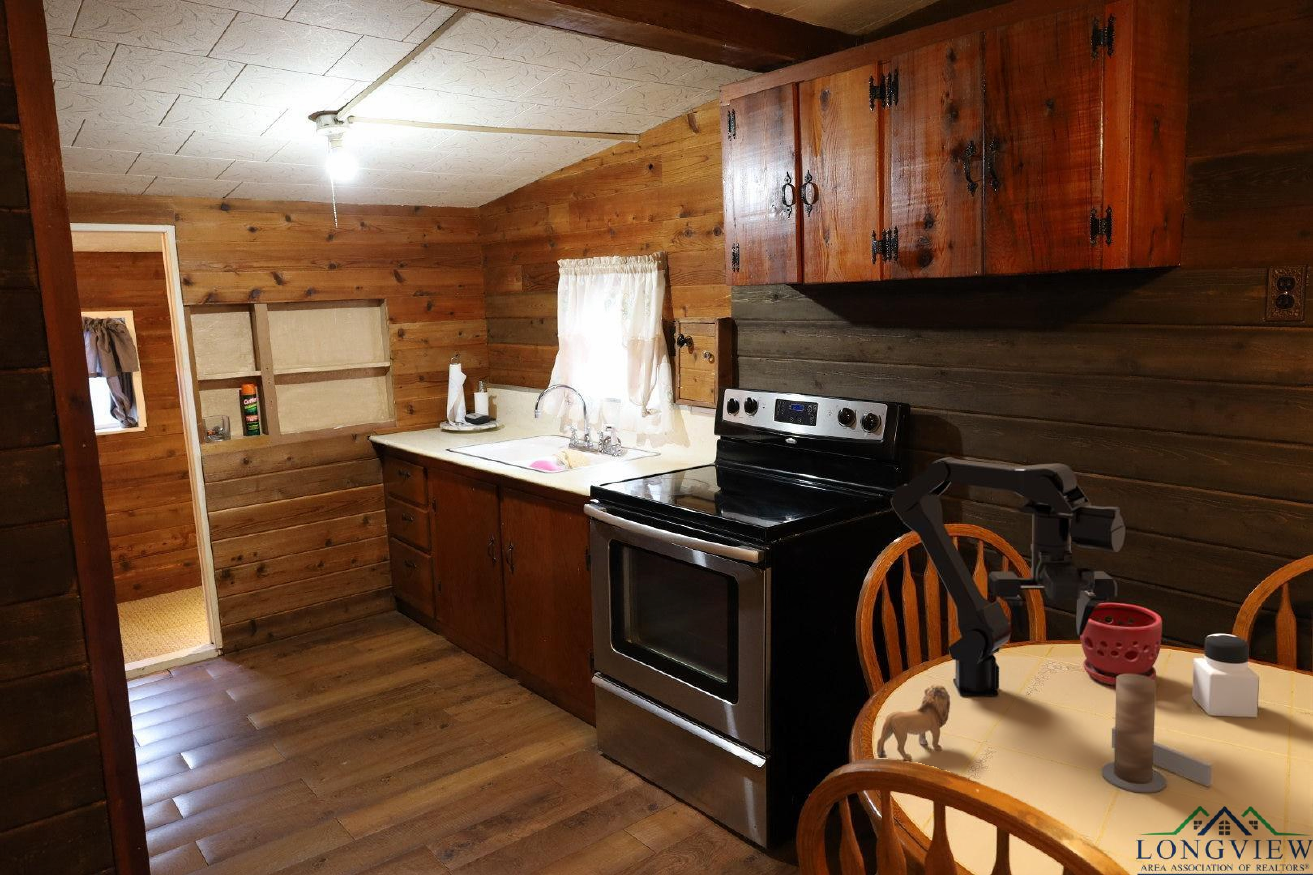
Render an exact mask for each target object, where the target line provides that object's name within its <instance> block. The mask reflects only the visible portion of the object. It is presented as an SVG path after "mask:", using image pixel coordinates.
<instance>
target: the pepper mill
mask: <svg viewBox="0 0 1313 875" xmlns="http://www.w3.org/2000/svg"><path fill="white" fill-rule="evenodd" d="M1156 685H1157V684H1156V680H1154V679H1151V678H1149V677H1146V676H1143V675H1138V674H1121V675H1118V676H1117V677H1116V685H1115V715H1114V716H1115V718H1114V720H1115V721H1114V722H1115V724H1114V727H1115V748H1114V756H1113V758H1114V759H1113V760H1114V761H1113V762H1114V774H1115V775H1116V776H1117V777H1118V778H1120V779H1122V780H1124V781H1126V782H1130V783H1135V784H1147V783H1150V782H1151V781H1152V780H1153V769H1154V764H1153V752H1154V742H1155V717H1156V716H1155V714H1156V713H1155V712H1156V711H1155V710H1156V688H1157V687H1156Z"/></svg>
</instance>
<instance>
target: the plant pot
mask: <svg viewBox="0 0 1313 875" xmlns="http://www.w3.org/2000/svg"><path fill="white" fill-rule="evenodd" d="M1107 617H1110V618H1112V620H1111V622H1107V621H1106V618H1107ZM1129 619H1132V621H1133V622H1129ZM1096 620H1098V621H1099V622H1098V621H1096ZM1119 622H1122V625H1119ZM1162 634H1163V620H1162V617H1161V616H1160V615H1159V614H1158V613H1156V612H1154V611H1153V610H1151V609H1148V608H1146V607H1142V606H1140V605H1139V606H1138V605H1134V604H1128V603H1117V602H1101V603H1100V604H1098V605H1097V606H1096V607H1095V609H1094V610H1093V612H1092V614H1091V616H1090V618H1089V620H1088V622H1087V625H1086V627H1085V629H1084V632H1083V634H1082V635H1081V636H1079V637H1080V638H1079V639H1080V643H1081V647H1082V651H1083V654H1084V657H1085V658H1084V660H1083V663H1082V664H1083V665H1082V666H1083V668H1084V670H1085V672H1086V673H1087V674H1088V675H1089V676H1090V677H1092V678H1093V679H1094V680H1097V681H1099V682H1101V683H1104V684H1108V685H1111V686H1116V677H1117V676H1118V675H1121V674H1138V675H1143V676H1146V677H1149V678H1151V679H1153V680H1154V679H1155V678H1156V677H1157V676H1156V675H1157V670H1156V668H1155V667H1154V665H1155V663H1156V661H1157V660H1158V657H1159V654H1160V652H1161V646H1162V645H1161V643H1162V642H1161V640H1162Z"/></svg>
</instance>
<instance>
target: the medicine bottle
mask: <svg viewBox="0 0 1313 875" xmlns="http://www.w3.org/2000/svg"><path fill="white" fill-rule="evenodd" d="M1249 651H1250V645H1249V643H1248V641H1247V640H1246V639H1244V638H1241V637H1240V636H1236V635H1233V634H1227V633H1213V634H1210V635H1207V636H1206V637H1205V638H1204V651H1203V652H1204V654H1203V655H1204V656H1203V657H1202V658H1201V657H1200V658H1199V657H1194V658H1193V669H1192V670H1193V672H1192V676H1193V677H1192V694H1191V695H1192V696H1191V697H1192V699H1193V700H1194V701H1195V702H1196V703H1197V704H1198V706H1200V707H1201V708H1202V709H1203V711H1204V712H1205V713H1207V715H1209V716H1212V717H1228V718H1229V717H1232V718H1233V717H1234V718H1235V717H1236V718H1255V719H1256V718H1258V716H1259V715H1258V714H1259V691H1260V690H1259V689H1260V676H1259V675H1258V674H1257V673H1256V672H1255V671H1254V670H1252V669H1251V668H1250V667H1249V653H1250V652H1249Z"/></svg>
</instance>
